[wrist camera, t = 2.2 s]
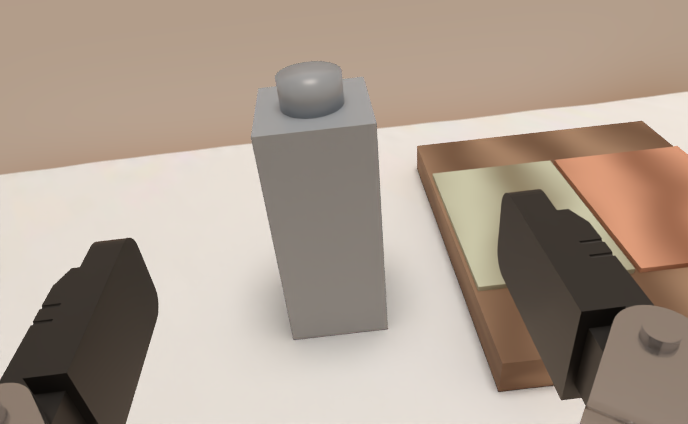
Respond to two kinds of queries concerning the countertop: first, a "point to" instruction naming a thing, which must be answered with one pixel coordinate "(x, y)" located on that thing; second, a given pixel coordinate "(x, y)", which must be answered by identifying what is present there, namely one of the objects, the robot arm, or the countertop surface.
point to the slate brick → (323, 198)
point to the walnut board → (565, 193)
